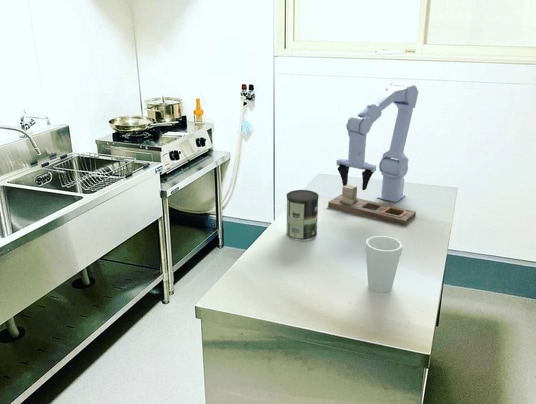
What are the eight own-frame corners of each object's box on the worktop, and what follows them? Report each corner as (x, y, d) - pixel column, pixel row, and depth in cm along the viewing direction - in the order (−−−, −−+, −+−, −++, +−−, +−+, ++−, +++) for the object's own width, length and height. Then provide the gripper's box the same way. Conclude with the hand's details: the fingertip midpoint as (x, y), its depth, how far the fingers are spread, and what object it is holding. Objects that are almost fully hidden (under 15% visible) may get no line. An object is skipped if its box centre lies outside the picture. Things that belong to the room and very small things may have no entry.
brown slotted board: (340, 199, 205) (341, 193, 205) (415, 216, 189) (416, 211, 188) (328, 206, 198) (328, 201, 197) (404, 225, 182) (405, 220, 181)
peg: (346, 203, 201) (347, 183, 198) (355, 206, 199) (357, 186, 196) (341, 206, 198) (342, 186, 195) (351, 209, 196) (352, 188, 193)
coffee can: (316, 228, 179) (317, 189, 174) (318, 241, 170) (319, 200, 164) (285, 228, 179) (286, 189, 174) (285, 241, 170) (286, 200, 165)
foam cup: (373, 274, 150) (376, 232, 145) (403, 285, 144) (408, 242, 139) (356, 287, 143) (359, 244, 138) (387, 299, 137) (391, 254, 133)
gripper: (333, 150, 186) (331, 186, 191) (371, 156, 178) (368, 194, 183) (342, 145, 191) (340, 181, 196) (379, 151, 183) (376, 188, 188)
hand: (354, 187), depth 190 cm, fingers open, 7 cm apart
